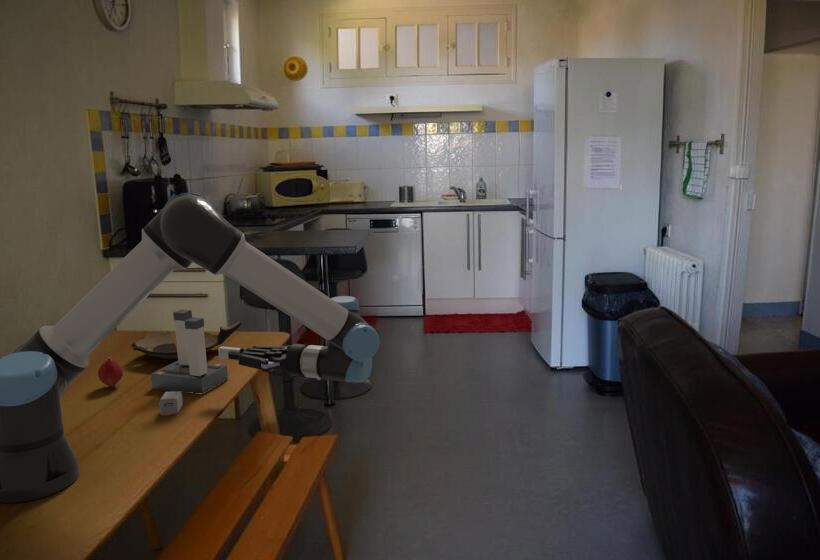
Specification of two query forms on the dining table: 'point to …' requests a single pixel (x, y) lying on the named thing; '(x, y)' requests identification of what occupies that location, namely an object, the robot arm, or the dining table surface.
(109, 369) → the onion
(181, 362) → the white capped post
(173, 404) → the usb wall charger
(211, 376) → the console
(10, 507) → the dining table surface
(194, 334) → the grey square post
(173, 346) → the broken bowl
